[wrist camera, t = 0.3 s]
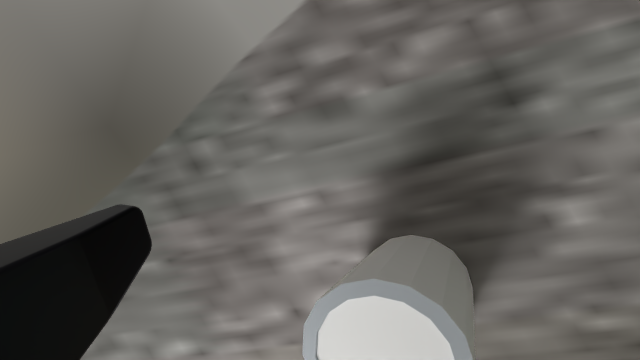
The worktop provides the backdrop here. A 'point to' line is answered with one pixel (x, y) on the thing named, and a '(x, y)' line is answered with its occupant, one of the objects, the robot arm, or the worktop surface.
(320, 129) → the worktop surface
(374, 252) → the shot glass
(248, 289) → the worktop surface
